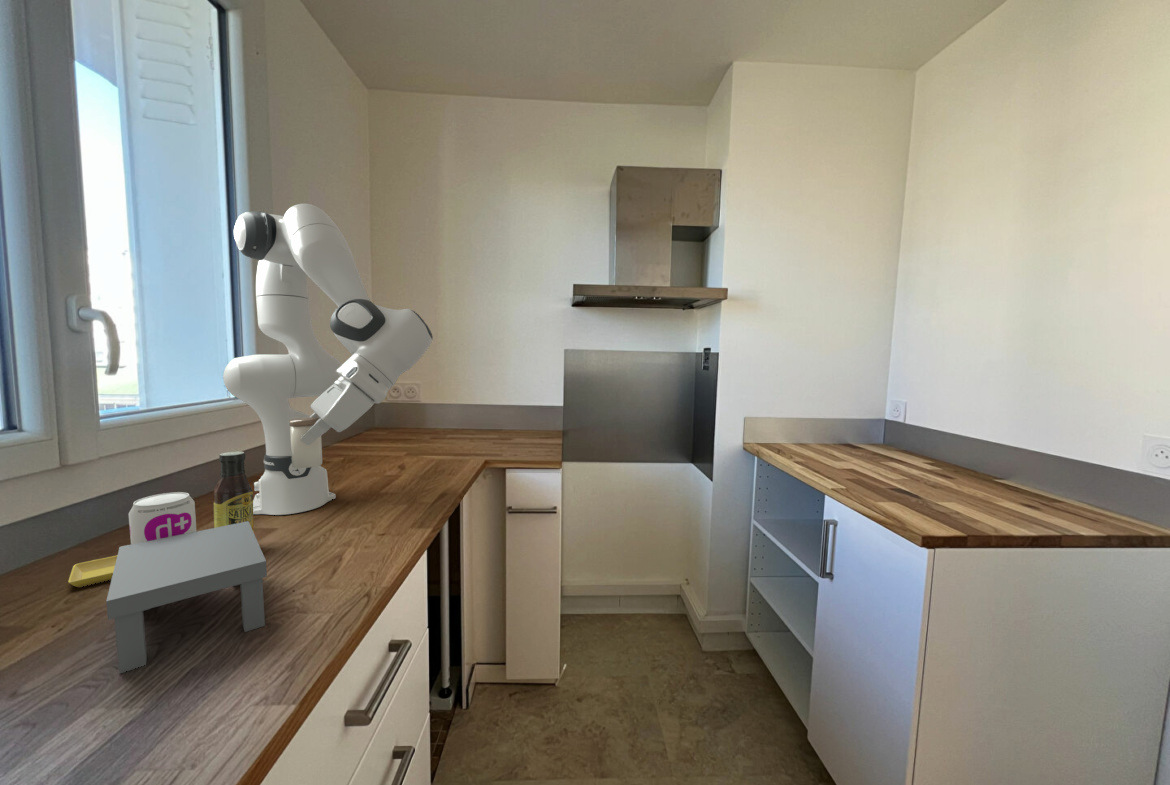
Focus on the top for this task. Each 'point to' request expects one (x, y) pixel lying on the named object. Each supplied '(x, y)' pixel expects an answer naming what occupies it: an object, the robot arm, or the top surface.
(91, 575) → the yellow shallow tray
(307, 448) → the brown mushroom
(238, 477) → the sauce bottle
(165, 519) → the supplement can
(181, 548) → the footstool
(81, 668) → the top surface
